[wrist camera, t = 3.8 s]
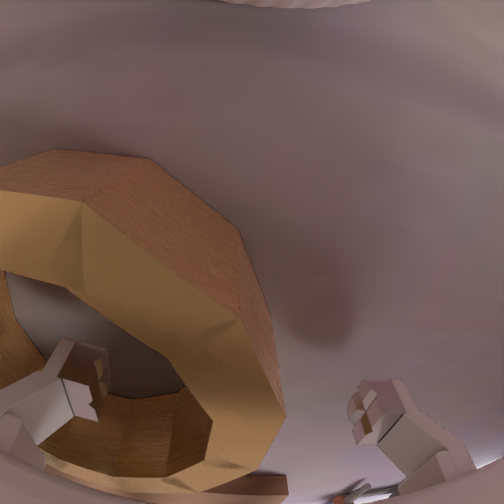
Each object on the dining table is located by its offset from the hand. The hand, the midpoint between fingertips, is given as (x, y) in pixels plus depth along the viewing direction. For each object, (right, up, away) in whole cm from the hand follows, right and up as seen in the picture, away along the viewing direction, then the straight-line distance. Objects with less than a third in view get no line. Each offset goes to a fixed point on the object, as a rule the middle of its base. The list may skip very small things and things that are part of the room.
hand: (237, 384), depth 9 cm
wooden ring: (-5, +2, +1) cm, 5 cm away
